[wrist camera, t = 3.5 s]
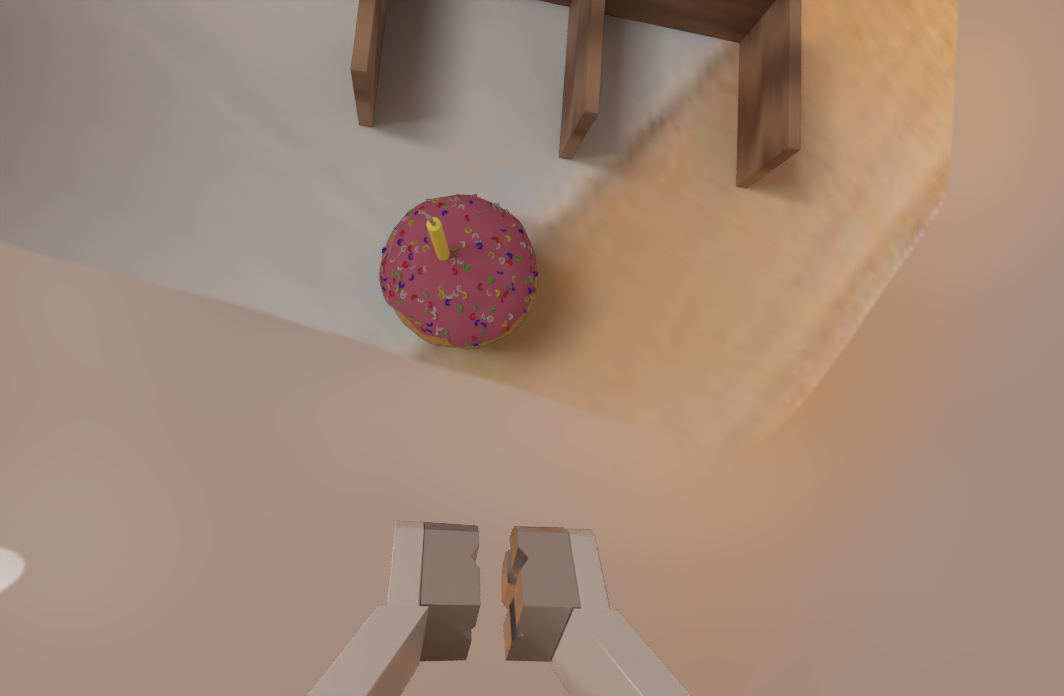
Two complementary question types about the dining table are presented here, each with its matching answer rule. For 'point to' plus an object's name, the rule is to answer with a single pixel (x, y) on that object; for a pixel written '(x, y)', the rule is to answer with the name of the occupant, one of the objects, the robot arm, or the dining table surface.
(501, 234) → the cupcake
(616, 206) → the dining table surface
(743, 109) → the walnut rack
